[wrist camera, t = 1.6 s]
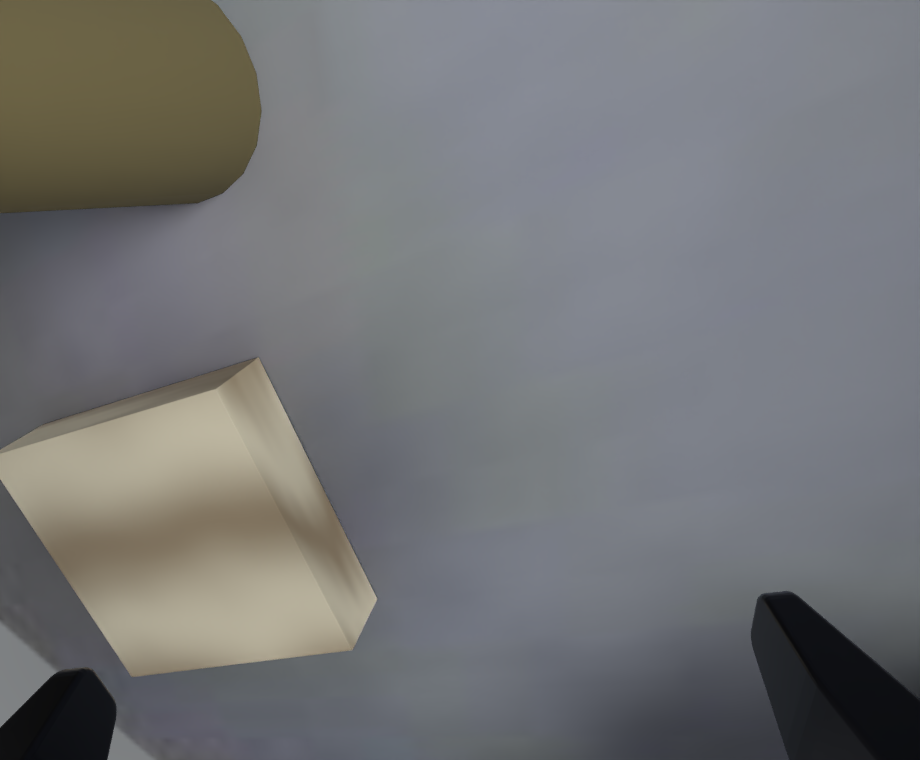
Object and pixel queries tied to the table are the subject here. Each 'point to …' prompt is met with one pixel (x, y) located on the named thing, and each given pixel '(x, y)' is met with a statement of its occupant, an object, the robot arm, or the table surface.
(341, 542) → the block
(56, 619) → the table surface
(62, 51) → the cork
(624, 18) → the table surface
